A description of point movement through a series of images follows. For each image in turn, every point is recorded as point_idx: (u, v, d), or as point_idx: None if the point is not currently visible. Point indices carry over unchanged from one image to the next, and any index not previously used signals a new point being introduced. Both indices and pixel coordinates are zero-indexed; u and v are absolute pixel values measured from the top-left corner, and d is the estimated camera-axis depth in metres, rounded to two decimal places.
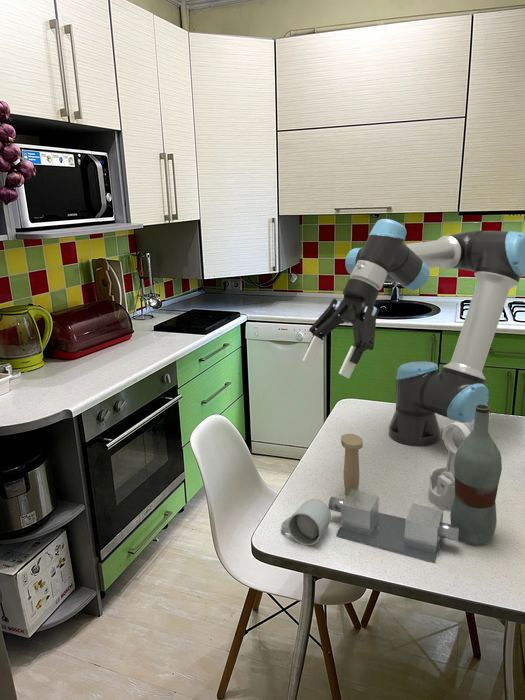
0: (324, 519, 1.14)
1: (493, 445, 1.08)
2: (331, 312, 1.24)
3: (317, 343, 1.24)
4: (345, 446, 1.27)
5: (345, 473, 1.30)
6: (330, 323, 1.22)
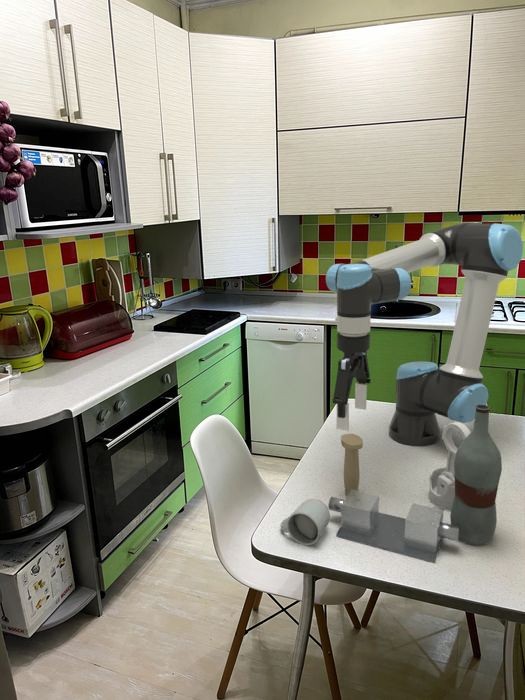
0: (323, 519, 1.14)
1: (493, 445, 1.08)
2: None
3: (360, 389, 1.31)
4: (345, 446, 1.27)
5: (345, 473, 1.30)
6: None
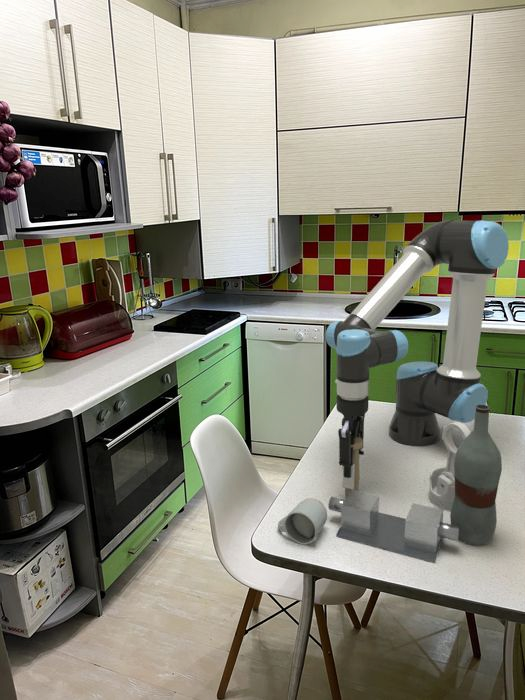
0: (320, 518, 1.14)
1: (493, 445, 1.08)
2: None
3: None
4: None
5: None
6: None
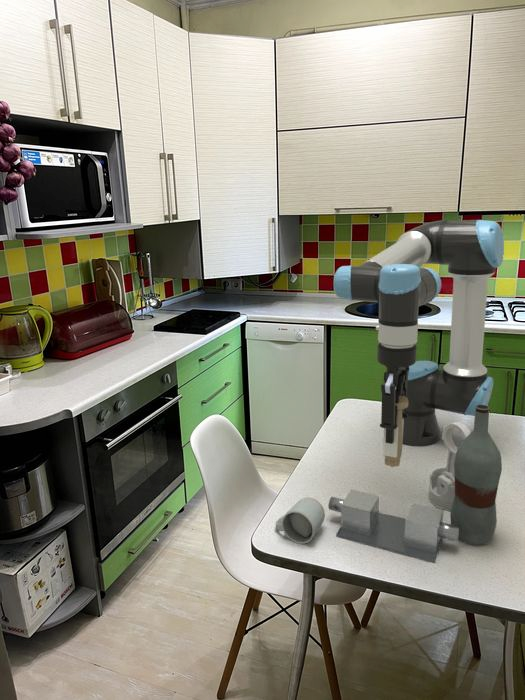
0: (318, 518, 1.15)
1: (493, 445, 1.08)
2: None
3: None
4: None
5: None
6: None
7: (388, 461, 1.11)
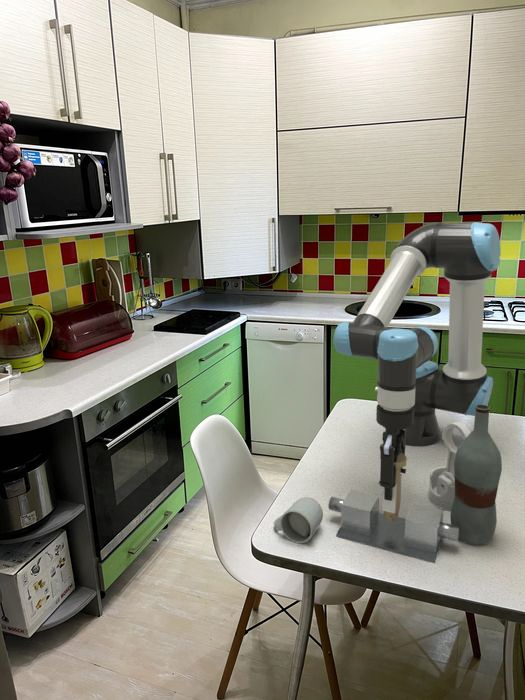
0: (316, 517, 1.15)
1: (493, 445, 1.08)
2: None
3: None
4: None
5: None
6: None
7: (387, 516, 1.14)
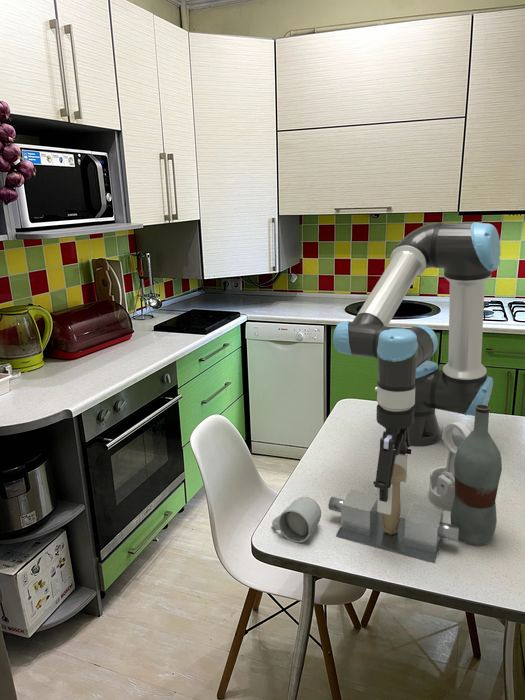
0: (314, 517, 1.15)
1: (493, 445, 1.08)
2: None
3: (400, 460, 1.19)
4: None
5: None
6: None
7: (386, 529, 1.16)
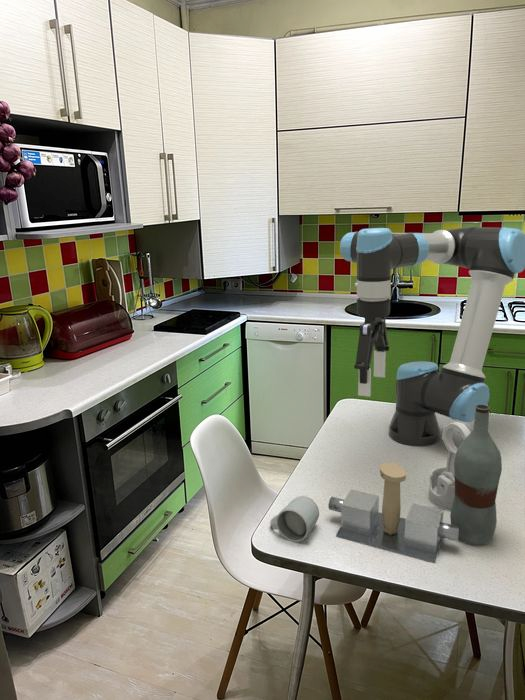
0: (312, 516, 1.15)
1: (493, 445, 1.08)
2: None
3: (379, 357, 1.31)
4: (385, 478, 1.11)
5: (384, 508, 1.14)
6: None
7: (386, 529, 1.16)
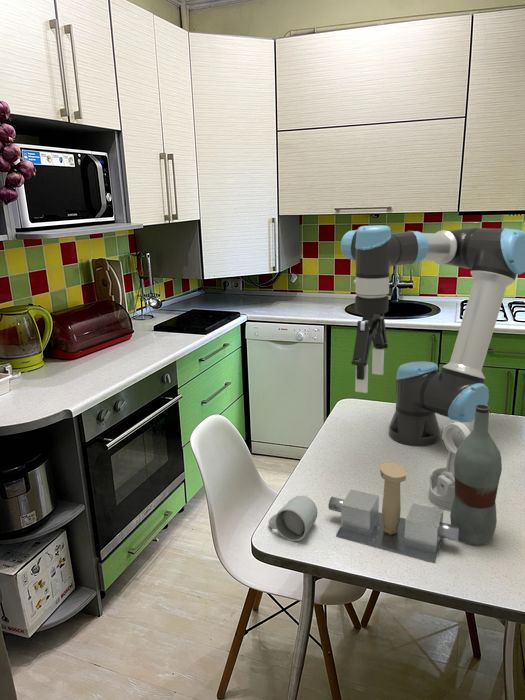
0: (310, 516, 1.16)
1: (493, 445, 1.08)
2: None
3: (377, 354, 1.31)
4: (385, 478, 1.11)
5: (384, 508, 1.14)
6: None
7: (386, 529, 1.16)
